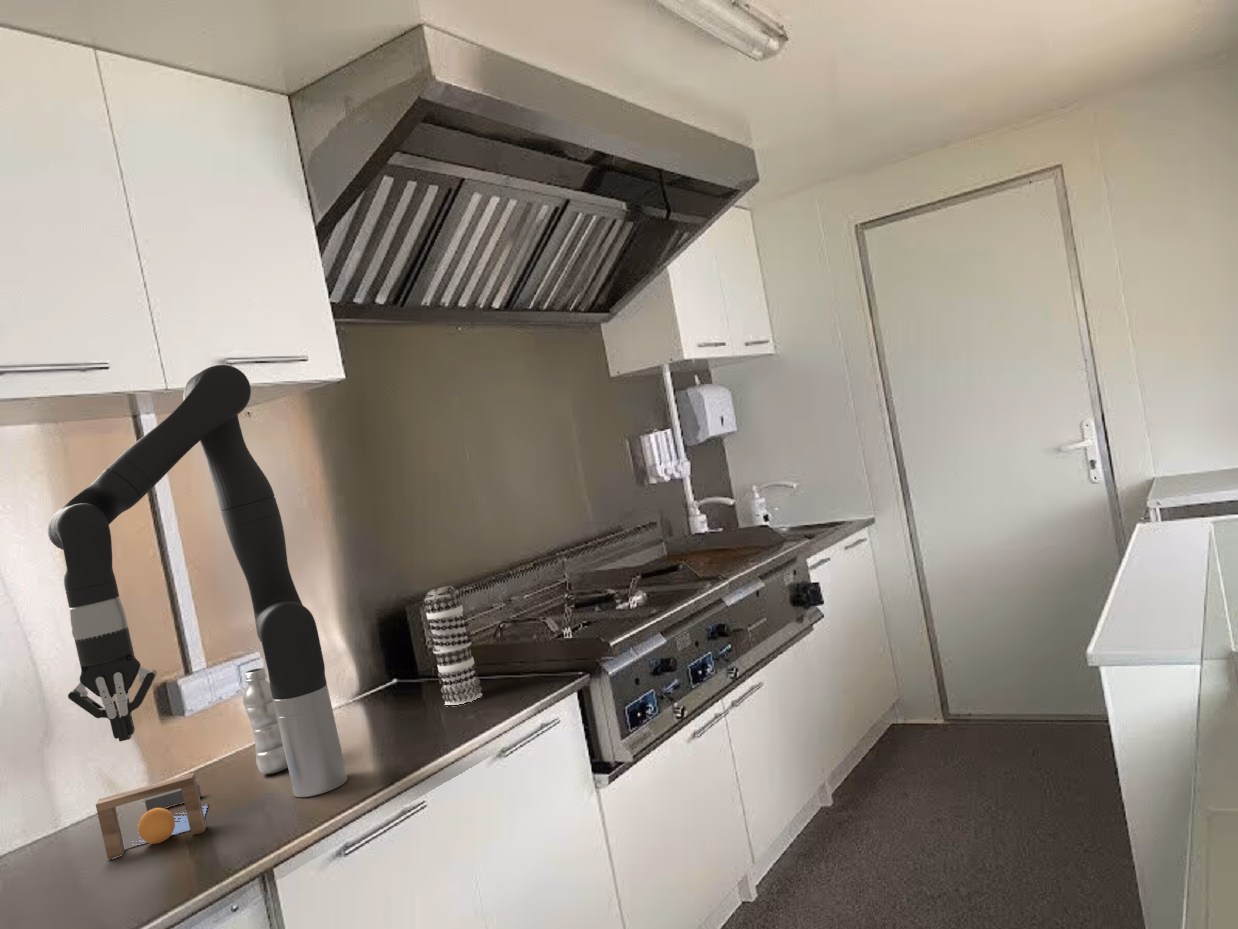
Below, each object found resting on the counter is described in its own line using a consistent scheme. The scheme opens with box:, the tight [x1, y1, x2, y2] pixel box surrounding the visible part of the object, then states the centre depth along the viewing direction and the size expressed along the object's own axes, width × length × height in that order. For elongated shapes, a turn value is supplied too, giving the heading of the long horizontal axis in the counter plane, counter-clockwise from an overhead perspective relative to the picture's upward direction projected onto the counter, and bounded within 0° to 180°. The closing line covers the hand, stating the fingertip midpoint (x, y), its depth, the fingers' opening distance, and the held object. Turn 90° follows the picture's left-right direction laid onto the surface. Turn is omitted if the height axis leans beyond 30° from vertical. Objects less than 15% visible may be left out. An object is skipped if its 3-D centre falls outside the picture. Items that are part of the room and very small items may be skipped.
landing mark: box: [123, 804, 209, 849], centre depth 169 cm, size 13×13×1 cm
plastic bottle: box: [242, 667, 288, 775], centre depth 190 cm, size 6×7×20 cm
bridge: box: [95, 772, 207, 860], centre depth 162 cm, size 3×14×9 cm, turn 108°
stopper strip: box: [144, 782, 202, 812], centre depth 182 cm, size 2×9×2 cm, turn 108°
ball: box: [137, 808, 175, 845], centre depth 162 cm, size 6×6×6 cm
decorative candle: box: [422, 585, 483, 706], centre depth 217 cm, size 9×9×25 cm
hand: (125, 739), depth 155 cm, fingers closed
